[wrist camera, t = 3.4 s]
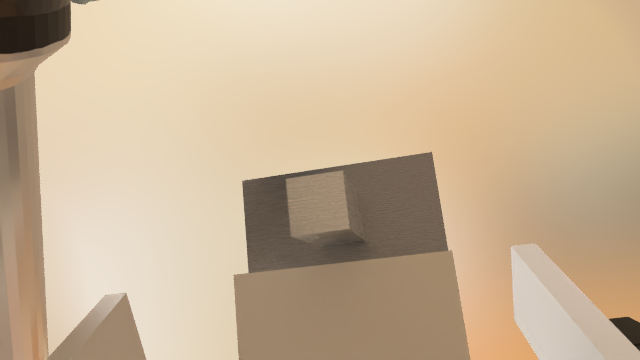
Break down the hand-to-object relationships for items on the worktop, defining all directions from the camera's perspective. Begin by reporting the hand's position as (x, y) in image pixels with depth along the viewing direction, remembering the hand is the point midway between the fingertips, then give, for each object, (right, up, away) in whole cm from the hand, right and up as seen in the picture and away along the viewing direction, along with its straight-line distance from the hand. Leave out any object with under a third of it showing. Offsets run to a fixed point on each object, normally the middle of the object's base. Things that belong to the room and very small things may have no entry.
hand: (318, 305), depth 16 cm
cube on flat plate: (+1, -1, +15) cm, 15 cm away
